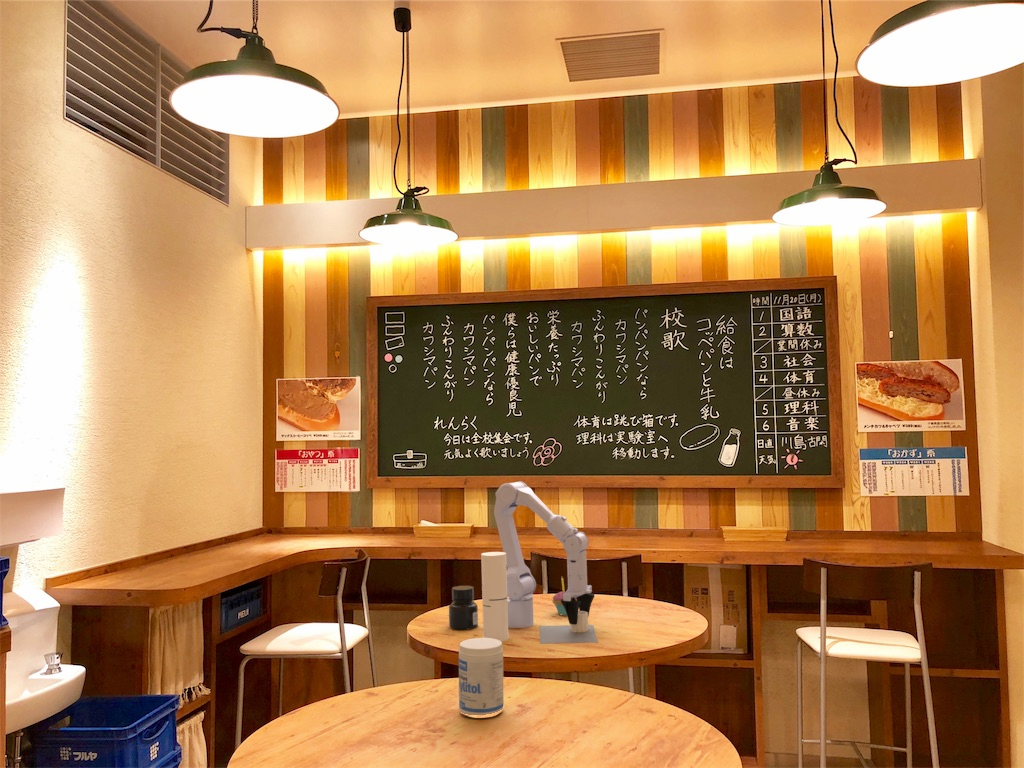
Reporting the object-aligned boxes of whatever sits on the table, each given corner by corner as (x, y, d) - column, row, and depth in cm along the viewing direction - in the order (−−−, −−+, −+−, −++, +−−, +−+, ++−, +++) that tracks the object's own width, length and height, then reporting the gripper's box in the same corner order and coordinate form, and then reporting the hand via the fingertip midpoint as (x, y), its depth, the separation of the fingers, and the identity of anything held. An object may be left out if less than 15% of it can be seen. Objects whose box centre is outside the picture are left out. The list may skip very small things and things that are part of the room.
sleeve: (583, 633, 233) (582, 615, 233) (567, 631, 236) (566, 613, 236) (591, 629, 238) (590, 611, 238) (575, 627, 240) (575, 610, 241)
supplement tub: (451, 717, 170) (449, 646, 171) (472, 703, 179) (470, 635, 180) (492, 723, 166) (490, 650, 167) (511, 708, 175) (509, 639, 176)
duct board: (540, 647, 223) (539, 626, 223) (540, 629, 243) (539, 610, 243) (598, 645, 223) (597, 625, 223) (593, 628, 243) (592, 609, 243)
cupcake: (548, 612, 265) (547, 575, 266) (571, 609, 268) (569, 573, 269) (560, 617, 257) (559, 579, 258) (583, 614, 261) (582, 577, 261)
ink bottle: (482, 628, 246) (481, 589, 247) (454, 632, 243) (453, 591, 243) (472, 622, 255) (471, 583, 256) (445, 625, 252) (444, 586, 252)
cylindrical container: (505, 646, 225) (503, 555, 227) (480, 645, 227) (478, 555, 228) (510, 639, 232) (508, 551, 234) (486, 638, 234) (484, 551, 235)
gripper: (578, 579, 229) (579, 628, 229) (600, 571, 242) (601, 617, 241) (556, 578, 233) (557, 625, 232) (579, 569, 245) (580, 615, 245)
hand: (578, 621), depth 237 cm, fingers open, 7 cm apart
